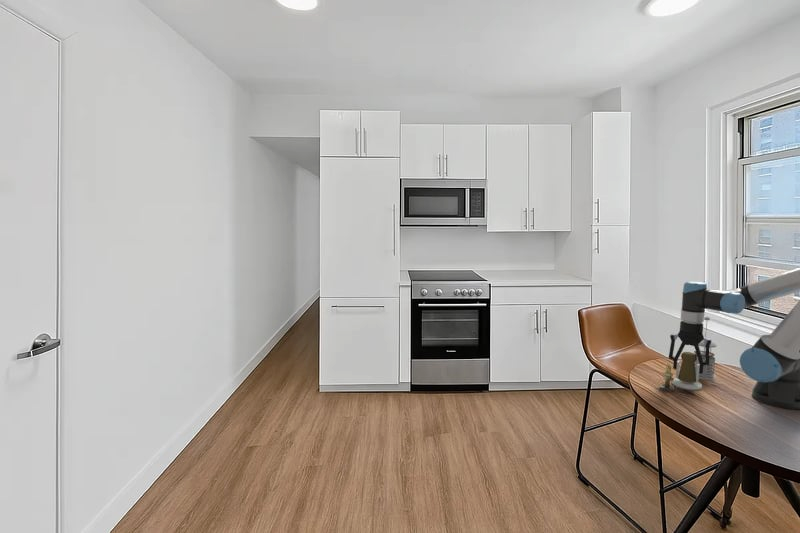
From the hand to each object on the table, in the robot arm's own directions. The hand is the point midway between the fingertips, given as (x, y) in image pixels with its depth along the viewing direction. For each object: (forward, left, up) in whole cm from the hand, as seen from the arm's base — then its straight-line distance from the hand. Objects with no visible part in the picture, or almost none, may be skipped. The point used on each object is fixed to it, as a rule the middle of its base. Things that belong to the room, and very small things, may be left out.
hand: (687, 379), depth 176 cm
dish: (0, 0, -3) cm, 3 cm away
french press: (-5, -18, -3) cm, 19 cm away
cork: (0, 0, 0) cm, 0 cm away
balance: (+6, +9, -3) cm, 11 cm away
